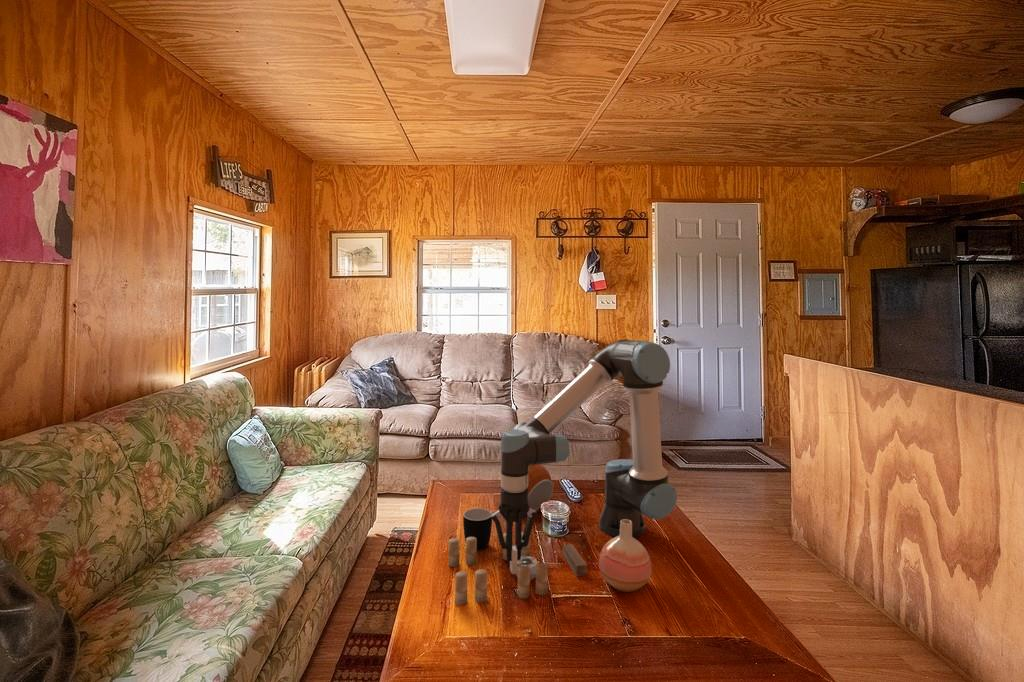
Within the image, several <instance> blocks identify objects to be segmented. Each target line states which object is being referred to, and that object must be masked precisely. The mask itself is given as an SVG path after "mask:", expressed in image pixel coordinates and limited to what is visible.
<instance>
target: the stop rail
mask: <svg viewBox="0 0 1024 682" xmlns="http://www.w3.org/2000/svg"><path fill="white" fill-rule="evenodd" d="M561 554H562V555H561V556H563V557H564V560H565V561H566V562H567V565H568V566H569V568H570V569H571V571H572V572H573V574H574V575H575V577H585V576H587V575H588V574H587V573H588V569H587V568H588V565H587V563H586V561H585V560H584V558H582V555H580V553H579V551H578V550H577V549H576V548H575V546H574V545H573V544H572V543H571V544H570V543H568V544H562V553H561Z"/></svg>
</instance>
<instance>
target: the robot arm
mask: <svg viewBox="0 0 1024 682" xmlns="http://www.w3.org/2000/svg"><path fill="white" fill-rule="evenodd" d="M587 365H588V366H586V368H585V369H583V370H582V371H581V372H580V373H579V374H578V375H577V376H575V377H574V379H572V381H570V383H568V384H567V385H566V386H565V387H564V388H563V389H562V390H561V391H559V392H558V393H557V394H556V395H555V396H554V397H553V398H552V399H551V400H550V401H549V402H548V403H547V404H545V406H544V407H542V409H540V410H539V411H538V412H536V414H535V415H534V416H533V417H531V418H530V419H529V420H528V421H526V422H523V421H522V422H519V423H517V424H516V425H515V426H514V427H513V429H510V430H507V431H504V432H503V433H502V435H501V439H500V440H501V441H500V487H501V488H500V503H499V504H500V505H499V506H498V510H496V511H495V512H494V511H491V517H492V522H494V525H495V529H496V533H497V537H498V541H499V544H500V545H499V546H500V547H501V549H502V550H503V549H506V557H507V560H506V561H507V562H509V570H510V573H511V574H512V575H516V573H517V560H520V559H521V550H522V547H526V546H527V545H528V542H529V538H530V539H531V533H532V529H533V526H534V521H535V520H536V518H537V516H538V512H537V510H536V511H535V510H534V509H531V508H530V507H529V505H528V489H527V488H528V468H529V465H536V464H540V465H543V464H553V463H554V464H555V463H558V462H564V461H566V460H567V459H568V458H569V456H570V443H569V440H568V438H567V437H566V435H564V434H557V433H554V432H555V430H557V429H558V428H559V427H560V426H561V425H562V424H563V423H564V422H565V421H566V420H568V418H569V417H571V416H572V415H573V413H575V412H576V411H577V410H578V409H579V408H580V407H582V405H583V404H584V403H586V401H587V400H589V399H590V398H591V397H592V396H593V395H594V394H595V393H596V392H597V391H598V390H599V389H600V388H601V387H602V386H603V385H605V384H610V383H611V382H612V381H614V380H615V379H616V378H618V377H622V383H623V384H622V386H623V388H625V390H626V391H627V392H628V396H629V397H628V399H629V415H630V431H631V434H630V435H631V445H632V446H631V448H632V459H627V458H626V459H625V458H622V459H619V458H618V459H613V460H609V461H608V462H607V463H606V465H605V470H604V474H605V479H604V481H605V483H604V484H605V485H604V491H605V492H604V505H603V508H602V511H601V512H600V516H599V519H598V526H599V529H600V530H601V531H602V532H603V533H605V534H607V535H609V536H612V537H617V536H619V535H620V521H621V520H622V519H628V520H630V521H632V537H633V538H638V537H641V536H642V535H643V534H644V533H645V530H646V523H645V520H644V516H645V517H648V518H650V519H653V520H661V519H665V518H666V517H667V516H669V515H670V514H671V513H672V511H673V510H674V509H675V507H676V504H677V501H678V493H677V489H676V488H675V487H674V486H673V484H670V483H669V472H668V470H667V469H666V468H665V467H664V466H663V457H662V455H663V454H662V438H661V437H662V436H661V435H662V434H661V419H660V418H661V417H660V404H659V390H660V389H661V388H662V387H663V386H664V380H665V379H666V378H667V376H668V374H669V373H670V370H671V360H670V356H669V354H668V352H667V350H666V349H665V348H664V347H663V346H661V345H660V344H658V343H654V342H652V341H648V340H634V339H633V340H632V339H626V338H625V339H623V338H622V339H618V340H615V341H613V342H611V343H609V344H607V345H606V346H605V347H603V348H602V349H601V350H600V351H598V352H597V353H596V354H594V355H593V356H592V357H591V358H590V359H589V360H588V362H587ZM553 433H554V434H553ZM526 515H527V518H526V520H525V525H524V528H522V527H523V520H524V519H525V517H526ZM501 517H503V519H504V520H505V522H506V525H505V526H506V527H505V528H506V529H505V533H506V542H505V541H504V537H503V534H504V533H503V528H502V525H501V522H500V520H501ZM514 522H515V527H514ZM513 527H514V528H515V531H514V532H515V534H514V535H515V536H514V539H515V540H514V541H515V542H514V545H513V546H512V534H513V529H514V528H513ZM522 529H523V531H522ZM522 532H523V536H522Z"/></svg>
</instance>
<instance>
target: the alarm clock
mask: <svg viewBox="0 0 1024 682" xmlns="http://www.w3.org/2000/svg"><path fill="white" fill-rule="evenodd" d="M553 483H554V482H553V479H552V477H551V475H550V473H549V471H548V470H547V468H546V467H545V466H543V464H536V465H529V468H528V488H527V489H528V505H529V507H530V508H531V509H534V510H535V511H536V512H537V511H539V510H540V509H539V508H540V505H541V504H542V503H543V502H547V501H548V502H549V501H550V500H551V498H552V496H553V492H554V487H555V486H554V484H553Z"/></svg>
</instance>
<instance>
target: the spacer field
mask: <svg viewBox="0 0 1024 682" xmlns="http://www.w3.org/2000/svg"><path fill="white" fill-rule="evenodd" d="M523 532H524V531H522V536H523ZM503 537H504V541H505V542H506V532H504V533H503ZM512 546H514V534H513V533H512ZM476 547H477V539H476V538H475V537H468V538H466V542H465V564H466V565H468V566H475V565H476V564H477V551H476ZM530 550H531V537H530V538H529V542H528V545H527V546H526V547H522V550H521V556H530V557H531V555H530V554H531V551H530ZM502 559H503V560H504V561H508V560H507V557H506V549H502ZM459 565H460V539H459V538H455V537H453V538H450V539H448V566H449V567H451V568H457V567H458V566H459ZM548 573H549V565H548V564H547V563H544V562H538V564H537V565H536V578H535V593H536V595H539V596H546V595H547V594H548V579H549V578H548V575H549V574H548ZM474 574H475V575H474V578H475V579H474V580H475V581H474V595H475V596H474V601H475V602H476V603H479V604H483V603H485V602H487V600H488V571H487V570H486V569H477V570H476V571H475V573H474ZM454 576H455V578H454V580H455V585H454V587H455V588H454V589H455V590H454V592H455V593H454V594H455V596H454V597H455V600H454V602H455V605H457V606H465V605H466V604H468V573H467V572H466V571H458V572H456V573H455V574H454ZM530 581H531V580H530V568H529V567H527V566H520V567H519V568H518V579H517V597H518V598H520V599H522V600H525V599H528V598H529V597H530Z"/></svg>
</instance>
